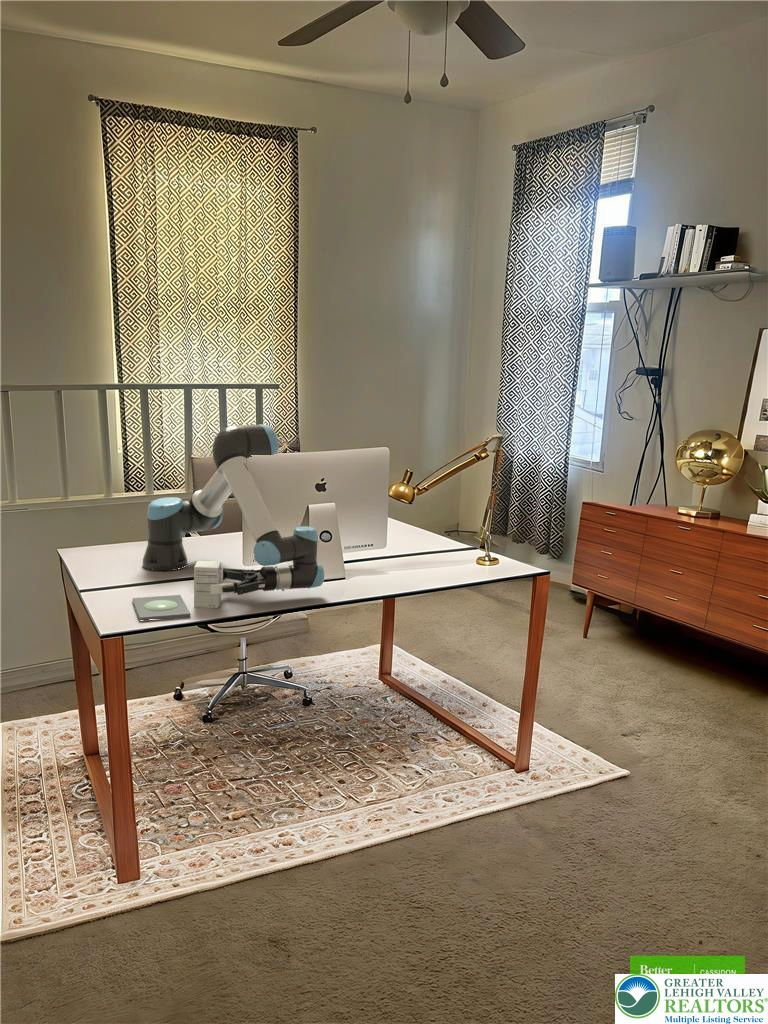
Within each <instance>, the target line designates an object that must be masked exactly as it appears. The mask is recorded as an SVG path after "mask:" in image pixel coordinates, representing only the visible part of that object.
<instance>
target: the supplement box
mask: <svg viewBox="0 0 768 1024" xmlns="http://www.w3.org/2000/svg"><path fill="white" fill-rule="evenodd" d="M221 571H222V561H219V560H217V561H216V560H197V561H196V563H195V565H194V567H193V606H194V608H208V609H209V608H211V609H215V608H216V609H217V608H219V606H220V604H221V601H222V600H221V599H222V593H221V594H210V585H212V584H222V580H221Z"/></svg>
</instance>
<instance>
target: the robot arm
mask: <svg viewBox="0 0 768 1024" xmlns="http://www.w3.org/2000/svg"><path fill="white" fill-rule="evenodd" d="M211 451H212V452H211V453H212V459H213V464H214V466H215V468H216V471H215V473H214V474H213V475H212V476H211V478H210V479H209V480H208V482H207V483H206V484H205V485H204V487H203V488H202V489H199V490H196V491H195V492H193V494H192V495H191V496H190V498H189V499H188V500H187V499H186V500H182V498H180V497H176V496H175V497H174V496H173V497H172V496H170V497H161V498H157V499H155V500H152V501H150V503H149V504H148V506H147V515H146V517H147V545H146V549H145V551H144V555H143V557H142V567H143V566H144V567H145V568H144V567H143V568H144V569H146V568H148V569H147V570H149V569H153V570H152V571H155V570H172V571H174V570H173V569H178V568H182V567H184V566H186V565H187V566H188V556H187V554H186V551H185V548H184V545H183V535H185V534H190V533H192V534H193V533H198V532H207V531H210V530H214V529H216V528H217V527H218V526H220V524H221V523H222V521H223V518H224V517H223V515H224V508H223V507H224V506H223V504H224V503H225V502H226V501H227V499H228V498H229V497H230V495H231V494H232V495H233V497H234V499H235V501H236V504H237V506H238V507H239V510H240V512H241V514H242V516H243V518H244V520H245V522H246V524H247V526H248V528H249V530H250V532H251V534H252V536H253V539H254V540H255V542H256V544H255V545H254V547H253V554H254V556H253V557H254V560H255V561H256V563H257V564H258V565H260V566H262V567H261V568H260V571H259V572H255V569H252V568H251V569H244V568H243V569H241V568H228V567H224V568H223V569H221V581H225V580H232V581H234V582H230V583H229V582H228V583H221V584H212V585H210V594H221V595H222V594H233V593H234V594H236V595H237V596H241V595H244V594H249V593H253V592H256V591H263V592H269V591H275V590H277V591H282V592H285V590H294V589H295V590H296V589H311V588H318V587H321V586H322V585H323V584H324V581H325V571H324V567H323V565H322V564H321V563H318V561H317V558H318V543H319V539H318V530H317V528H315V527H313V526H303V525H302V526H296V527H295V528H294V529H293V533H292V535H290V536H284V537H282V536H281V533H280V531H279V530H278V528H277V526H276V524H275V521H274V520H273V518H272V515H271V514H270V512H269V510H268V507H267V505H266V504H265V501H264V499H263V497H262V495H261V493H260V491H259V489H258V486H257V485H256V483H255V481H254V479H253V476H252V475H251V473H250V472H251V471H249V470H248V468H247V466H246V462H247V458H249V457H252V456H251V455H274V454H276V455H277V454H278V452H279V439H278V435H277V433H276V432H275V430H274V429H273V428H272V427H271V426H269V425H267V424H261V423H259V424H247V425H229V426H226V427H224V428H223V429H221V430H220V431H219V432H218V433H217V434H216V436H215V438H214V440H213V443H212V450H211ZM286 562H287V563H288V562H292V564H288V565H287V564H285V565H279V564H282V563H286ZM187 566H186V567H187ZM182 569H183V568H182ZM236 581H238V582H236Z"/></svg>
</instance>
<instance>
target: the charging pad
mask: <svg viewBox="0 0 768 1024" xmlns="http://www.w3.org/2000/svg"><path fill="white" fill-rule="evenodd" d="M132 604H133V608H134V610H135V609H136V610H135V612H137V613H136V614H137V615H136V616H137V618H138V617H139V618H138V621H139V620H149V619H167V620H179V619H188V618H189V619H190V618H191V612H190V609H188V608H189V607H187V605H186V603H185V601H184V599H183V597H182V595H181V594H173V595H161V596H160V595H159V596H158V595H157V596H143V597H132ZM175 618H176V619H175ZM177 618H178V619H177Z"/></svg>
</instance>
